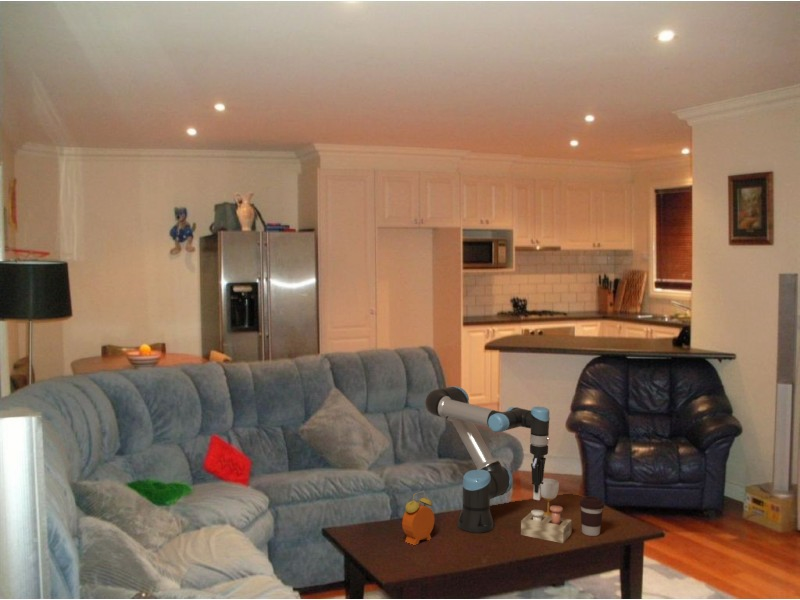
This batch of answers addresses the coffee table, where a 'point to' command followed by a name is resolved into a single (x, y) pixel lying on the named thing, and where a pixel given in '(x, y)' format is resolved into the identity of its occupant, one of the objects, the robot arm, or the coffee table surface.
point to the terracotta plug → (556, 514)
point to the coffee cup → (591, 515)
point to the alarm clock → (418, 521)
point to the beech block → (546, 528)
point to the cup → (549, 491)
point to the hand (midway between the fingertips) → (536, 499)
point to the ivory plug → (537, 514)
